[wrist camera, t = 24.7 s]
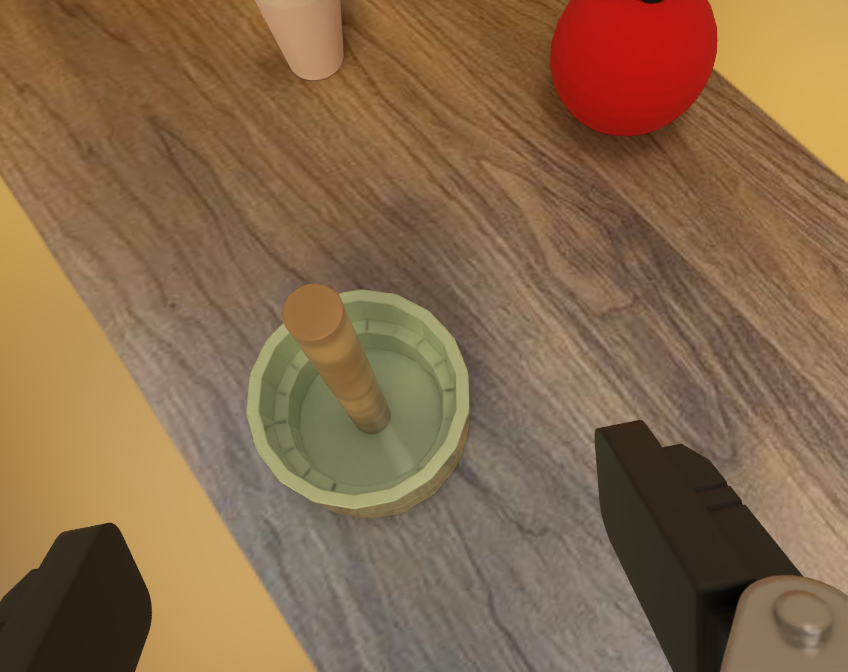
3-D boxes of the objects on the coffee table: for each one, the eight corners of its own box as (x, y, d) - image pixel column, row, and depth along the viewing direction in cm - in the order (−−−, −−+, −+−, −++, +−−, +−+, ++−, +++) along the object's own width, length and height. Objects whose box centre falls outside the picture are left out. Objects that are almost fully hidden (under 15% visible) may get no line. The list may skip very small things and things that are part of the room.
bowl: (487, 498, 35) (491, 482, 29) (290, 535, 35) (256, 527, 29) (449, 317, 38) (447, 272, 33) (270, 351, 38) (236, 311, 33)
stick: (387, 394, 36) (339, 277, 22) (393, 430, 36) (347, 334, 22) (351, 401, 36) (278, 288, 22) (356, 437, 36) (285, 345, 22)
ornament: (588, 27, 45) (621, -120, 35) (714, 87, 43) (784, -52, 33) (514, 123, 43) (529, -5, 33) (643, 191, 40) (697, 75, 31)
